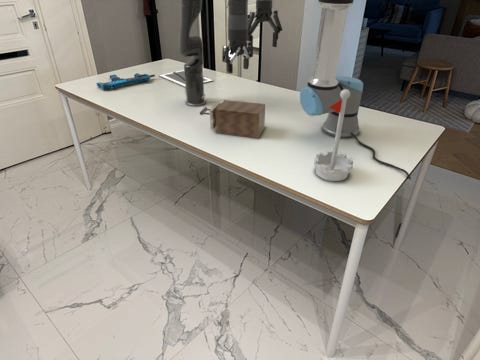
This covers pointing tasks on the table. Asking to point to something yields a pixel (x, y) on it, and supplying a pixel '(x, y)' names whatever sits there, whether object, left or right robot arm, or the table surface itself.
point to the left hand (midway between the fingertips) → (238, 70)
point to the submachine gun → (124, 81)
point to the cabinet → (240, 118)
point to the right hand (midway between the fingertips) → (262, 48)
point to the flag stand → (335, 150)
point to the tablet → (179, 80)
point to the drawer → (211, 115)
